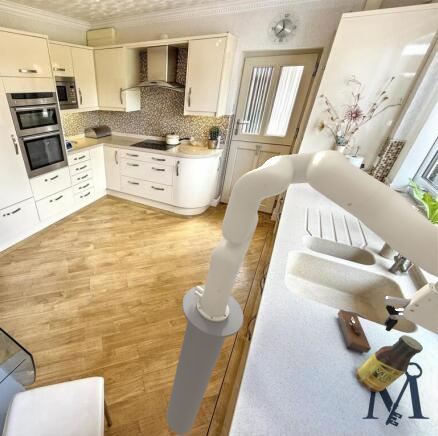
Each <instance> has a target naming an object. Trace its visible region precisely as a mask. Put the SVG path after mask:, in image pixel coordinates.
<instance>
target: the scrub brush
mask: <svg viewBox="0 0 438 436" xmlns="http://www.w3.org/2000/svg"><path fill="white" fill-rule="evenodd" d="M337 316H338V317H337V319H336V320H337V325H338V327H339V329H340V332H341V336H342V338H343V342H344V344H345V346H346V350H350V351H352V352H354V353H355V352H356V353H358V354H363V353H366V354H368V353H369V352H370V351H371V350H372V347H371V345H370V343H369V340H368V338H367V336H366V333H365V331H364V328H363V326H362V324H361V321H360V319H359V317H358V315H357V314H356V313H353V312H350V311H347V310H343V309H339V311H338V312H337Z"/></svg>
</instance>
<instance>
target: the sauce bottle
mask: <svg viewBox="0 0 438 436" xmlns="http://www.w3.org/2000/svg"><path fill="white" fill-rule="evenodd" d="M423 347H424V346H423V345H422V343H420V342H419V341H418V340H417V339H415V338H414V337H412V336H410V335H406V334H402V335H401V336H400V337H399V338H398V340H397V341H396V342H395V343H393V344H392V345H385V346H381V347H380V348H379V349H378V350H377V351H375V352H374V353H373V354H372V355H371V356H370V357H369V358H368V359H367V360H366V361H364V362H363V364H361V365H360V366H359V367H358V369H357V370H356V371H355V377H356V379H357V381H358V382H359V383H360V385H362V387H364V388H365V389H367V390H368V391H370V392H373V393H380V392H382V391H384V390H385V389H386V388H388V387H389V386H391V385H392V384H393V383H394V382H395V381H397V380H398V379H400V378H401V377H402V376H403V375H404V374H406V373H407V371H408V369H409V366H410V363H411V360H412V359H413V358H414V356H416V355H417V354H420V353H421V352H422V351H423V349H424V348H423Z"/></svg>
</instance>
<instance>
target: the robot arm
mask: <svg viewBox="0 0 438 436" xmlns="http://www.w3.org/2000/svg"><path fill="white" fill-rule="evenodd" d="M295 184H296V185H297V184H308V185H309V186H310V187H311V188H312V189H313V190H315V191H316V192H318V193H319V194H321V195H322V196H324V197H325V198H327V199H328V200H329V201H331V202H332V203H334V204H335V205H336V206H339V207H340V208H341V209H342V210H344V211H345V212H347V213H348V214H350V215H352V216H353V217H354V218H356V219H358V220H359V222H361V223H362V224H363V225H364V226H365V227H366V228H367V229H368V230H369V231H371V232H373V234H375V235H376V236H377V237H378V238H380V239H381V240H382V241H383V242H385V243H386V245H388V246H389V247H390V248H391V249H392V250H394V251H395V252H397V253H398V254H399V255H401V256H402V257H403V258H404V259H406V260H408V261H409V262H411V263H412V264H414V265H415V266H416V267H418V268H420V269H421V270H423V271H424V272H426V273H428V274H429V275H431V276H433V277H436V278H438V223H433V222H431V221H430V220H428V219H427V218H426V217H425V216H424V215H423V214H421V213H420V212H419V211H418V210H416V208H414V207H413V205H412V204H410V202H409V201H408V200H407V199H406V198H405V197H404V196H403V195H401V194H400V193H399V192H398V191H397V190H395V189H393V188H392V187H391V186H389V185H387V184H386V183H384V182H382V181H381V180H378V179H377V178H376V177H374V176H372V175H371V174H369V173H368V172H365V170H363V169H361V168H360V167H358V166H357V165H355V164H353V163H352V162H350V161H349V160H348V158H347V156H346V155H345V154H344V153H342V152H340V151H338V150H333V149H327V150H319V151H310V152H301V153H294V154H285V155H278V156H274V157H271V158H269V159H268V160H267V161H266V162H265V163H264V164H262V166H260V167H258V168H255V169H253V170H250V171H248V172H246V173H244V174H243V175H242V176H240V177H239V178H238V179H237V180H236V181H235V182H234V185H233V187H232V190H231V192H230V196H229V199H228V203H227V206H226V209H225V213H224V217H223V220H222V223H221V234H222V237H221V239H220V240H219V241H218V243H217V244H216V245H215V247H214V248H213V250H212V252H211V255H210V262H209V268H208V273H207V276H206V279H205V280H206V281H205V285H204V286H205V288H204V290H203V289H202V288H201V287H199V286H200V285H197V286H195V287H196V288H195V289H196V290H197V291H198V292H200V293H201V294H199V293H198V292H197V291H195V293H194V294H196V295H197V296H198V297H199V298H198V300H197V303H196V306H197V310H198V312H199V313H200V314H201V315H202V316H203V317H204V318H206V319H207V320H210V321H213V322H221V321H224V320H225V319H226V318H227V317H228V315H229V307H228V305H227V304H228V301H229V298H230V295H231V296H232V293H233V289H234V286H235V283H236V280H237V277H238V275H239V271H240V268H241V266H242V264H243V262H244V259H245V257H246V255H247V253H248V250H249V248H250V247H251V246H250V245H251V242H252V240H253V237H254V234H255V232H256V229H257V225H258V222H259V214H258V211H259V209H260V205H261V203H262V201H264V199H267V198H271V197H276V196H277V195H280V194H282V193H284V192H285V191H287V190H288V188H289V187H290V186H291V185H295ZM384 301H385V309H386V311H387V313H388V315H389V316H388V317H387V318H386V320H384V323H383V324H384V325H385V331H386V332H391V330H393V328H394V327H396V325H397V324H398V323H399V321H400V320H407V321H409V322H410V323H413V324H415V325H417V326H418V327H421V328H423V329H424V330H427V331H429V332H431V333H433V334H434V335H436V336H438V280H437V282H435V283H434V282H429V283H427V284H426V285H423V287H421V288H419V289H418V290H417V291H416V292H414V294H412V296H410V297H409V298H402V297H397V296H390V295H386V296H385V299H384ZM394 305H398V306H399V305H400V306H402V308H396V307H395V306H394Z"/></svg>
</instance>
